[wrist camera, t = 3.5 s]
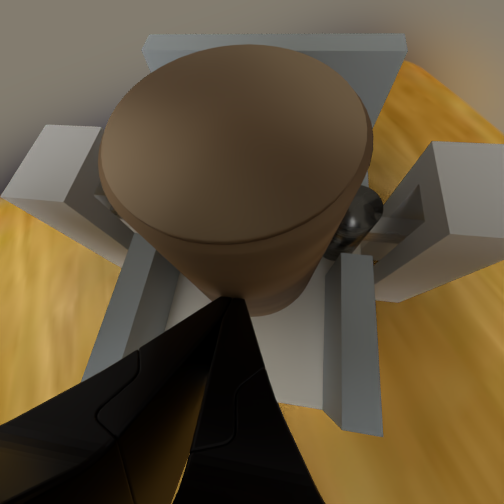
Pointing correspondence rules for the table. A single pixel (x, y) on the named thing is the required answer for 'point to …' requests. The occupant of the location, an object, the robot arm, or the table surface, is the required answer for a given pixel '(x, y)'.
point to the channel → (327, 272)
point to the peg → (238, 167)
